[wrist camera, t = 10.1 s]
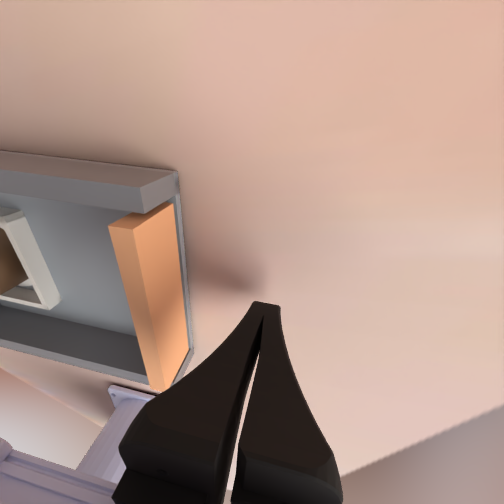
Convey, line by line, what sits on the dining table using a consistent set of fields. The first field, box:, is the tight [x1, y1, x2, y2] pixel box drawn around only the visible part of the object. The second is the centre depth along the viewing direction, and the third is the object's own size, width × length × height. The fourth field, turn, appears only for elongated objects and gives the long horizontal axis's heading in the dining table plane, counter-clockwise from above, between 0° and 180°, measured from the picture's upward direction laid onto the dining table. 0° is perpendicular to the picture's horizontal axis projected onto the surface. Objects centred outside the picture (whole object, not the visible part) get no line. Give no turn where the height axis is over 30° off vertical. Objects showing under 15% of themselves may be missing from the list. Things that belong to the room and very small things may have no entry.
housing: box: [0, 150, 194, 388], centre depth 14 cm, size 13×17×3 cm
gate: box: [108, 202, 189, 392], centre depth 13 cm, size 10×1×3 cm, turn 176°
